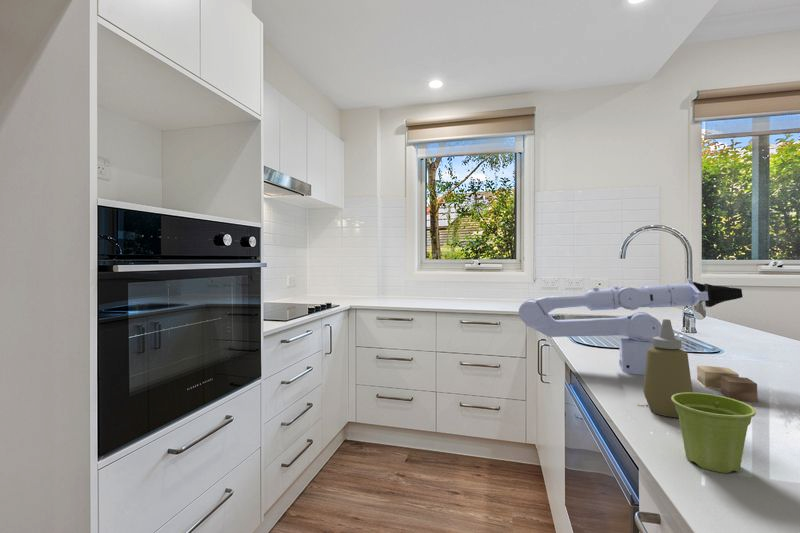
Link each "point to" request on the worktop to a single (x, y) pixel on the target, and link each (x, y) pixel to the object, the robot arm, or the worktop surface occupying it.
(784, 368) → the worktop surface
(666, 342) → the squeeze bottle
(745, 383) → the walnut block
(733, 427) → the plant pot
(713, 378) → the oak block
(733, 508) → the worktop surface
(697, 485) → the worktop surface
